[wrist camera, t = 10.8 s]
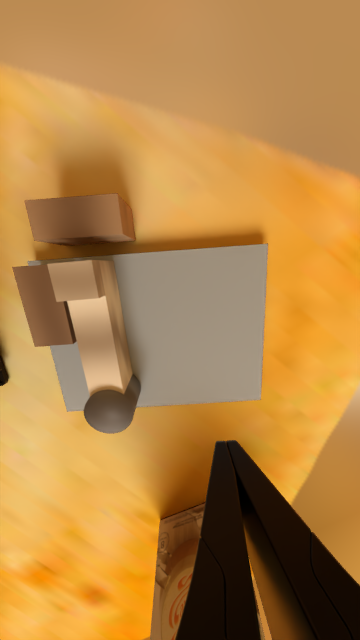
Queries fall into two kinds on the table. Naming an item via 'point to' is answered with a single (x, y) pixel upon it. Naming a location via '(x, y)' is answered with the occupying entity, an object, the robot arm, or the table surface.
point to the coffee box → (176, 571)
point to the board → (184, 326)
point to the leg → (99, 340)
